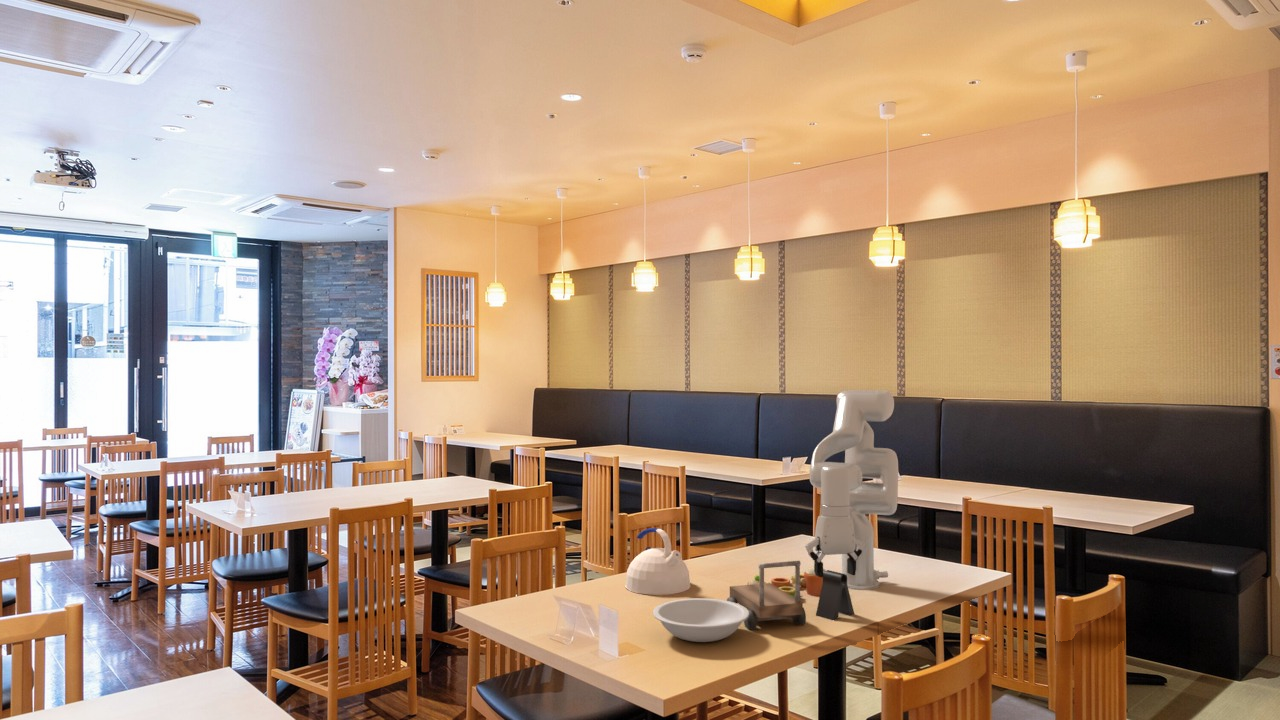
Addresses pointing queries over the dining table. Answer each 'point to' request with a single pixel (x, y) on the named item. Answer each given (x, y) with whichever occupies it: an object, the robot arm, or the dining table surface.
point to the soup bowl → (701, 618)
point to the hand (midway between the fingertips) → (835, 575)
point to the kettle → (658, 569)
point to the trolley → (769, 599)
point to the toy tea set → (806, 583)
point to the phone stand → (834, 596)
